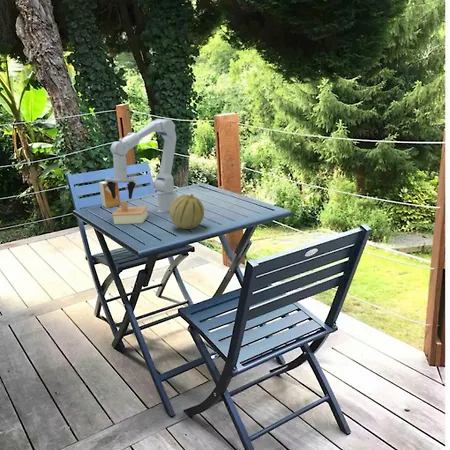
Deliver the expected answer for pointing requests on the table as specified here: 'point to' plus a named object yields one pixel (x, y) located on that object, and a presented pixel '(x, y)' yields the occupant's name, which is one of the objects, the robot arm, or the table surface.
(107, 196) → the small box
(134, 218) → the tub
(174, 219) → the cantaloupe
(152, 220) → the table surface
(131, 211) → the lid
